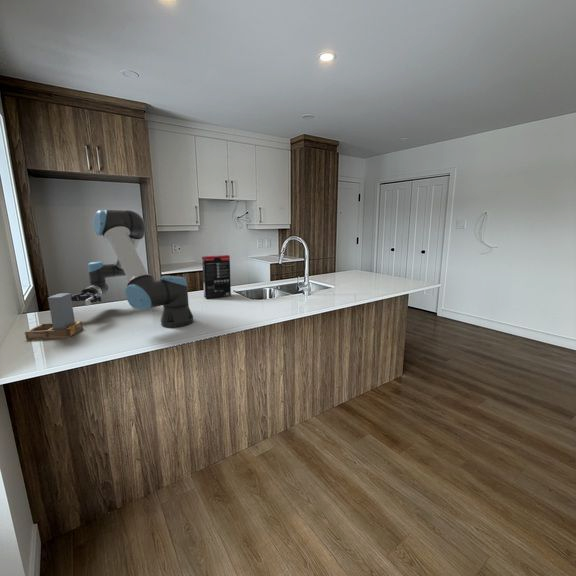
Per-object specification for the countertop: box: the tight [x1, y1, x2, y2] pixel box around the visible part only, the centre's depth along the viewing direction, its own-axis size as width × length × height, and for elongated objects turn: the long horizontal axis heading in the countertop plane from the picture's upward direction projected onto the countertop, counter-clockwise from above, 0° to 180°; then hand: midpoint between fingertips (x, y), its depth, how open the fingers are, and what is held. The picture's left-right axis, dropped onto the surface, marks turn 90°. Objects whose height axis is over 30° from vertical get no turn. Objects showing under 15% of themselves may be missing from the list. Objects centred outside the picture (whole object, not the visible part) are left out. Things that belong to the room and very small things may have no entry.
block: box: [47, 292, 76, 330], centre depth 141 cm, size 8×5×17 cm, turn 8°
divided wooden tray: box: [24, 321, 84, 341], centre depth 142 cm, size 12×18×4 cm
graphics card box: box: [201, 254, 232, 300], centre depth 206 cm, size 17×7×27 cm, turn 118°
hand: (70, 303), depth 148 cm, fingers open, 13 cm apart
